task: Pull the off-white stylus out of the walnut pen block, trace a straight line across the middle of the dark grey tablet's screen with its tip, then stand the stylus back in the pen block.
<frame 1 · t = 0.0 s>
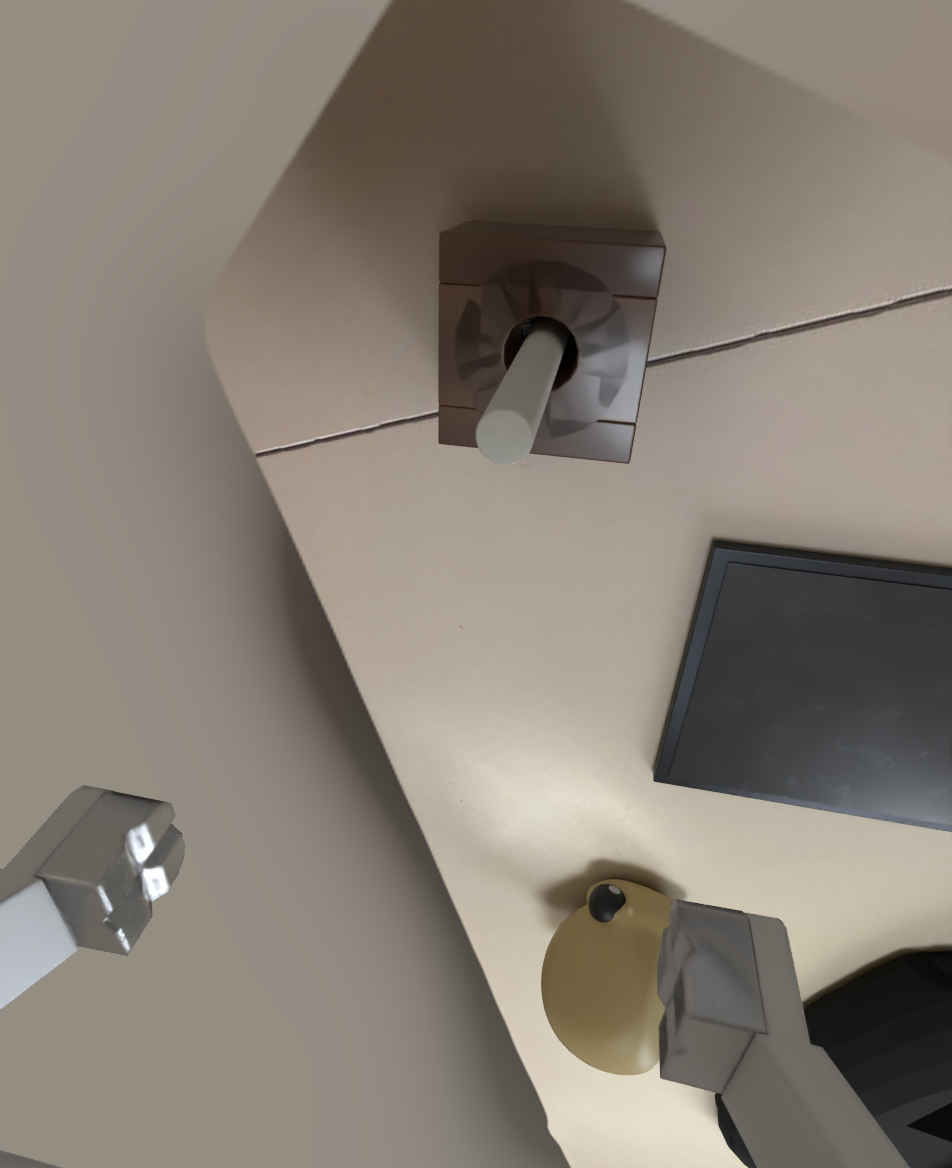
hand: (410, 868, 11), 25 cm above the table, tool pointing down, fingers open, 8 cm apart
tablet: (904, 702, 37), on the table
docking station: (900, 1080, 57), on the table
toy pig: (616, 909, 52), on the table
stylus: (534, 369, 24), in the hole of the pen block
pen block: (552, 327, 30), on the table
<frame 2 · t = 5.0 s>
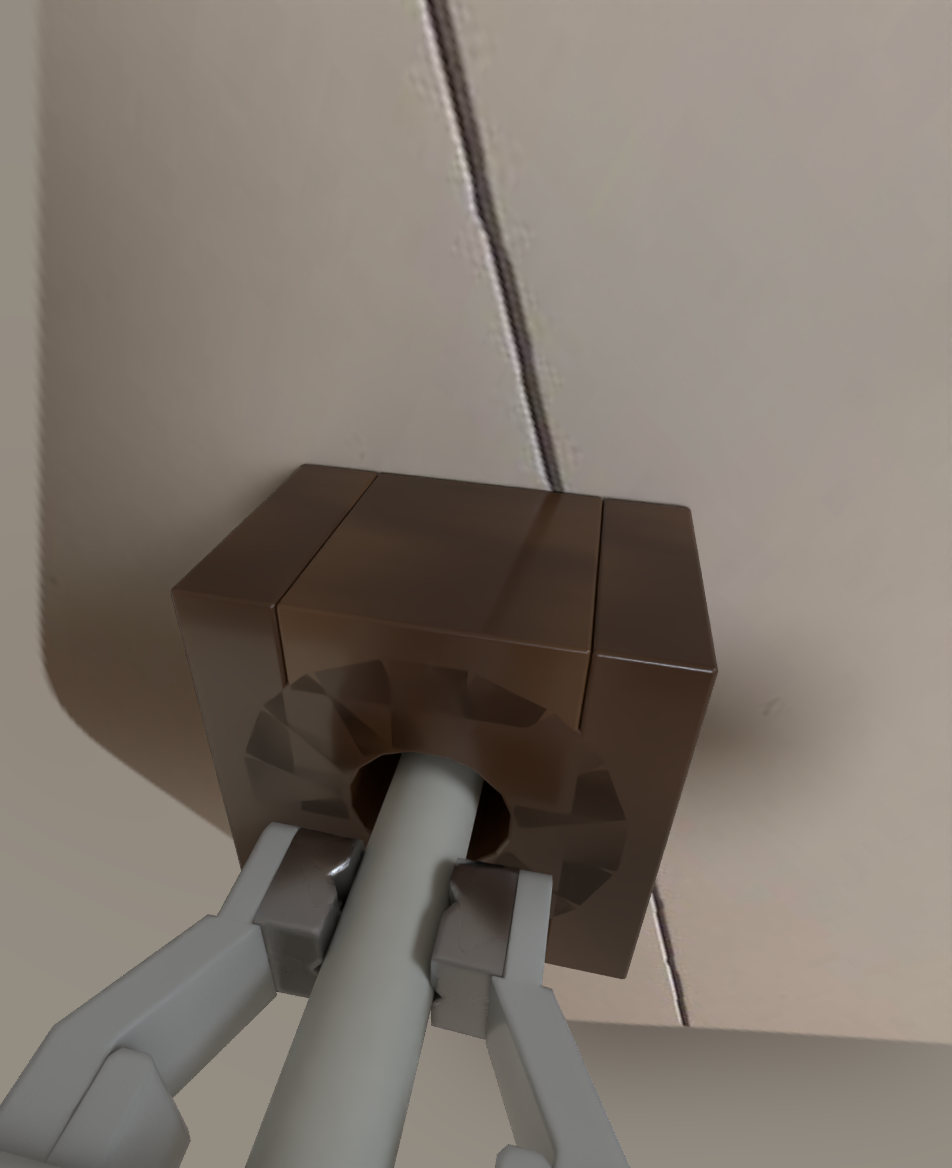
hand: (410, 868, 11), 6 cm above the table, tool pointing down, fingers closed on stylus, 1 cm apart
stylus: (395, 922, 10), in the hole of the pen block, touching gripper
pen block: (481, 640, 16), on the table
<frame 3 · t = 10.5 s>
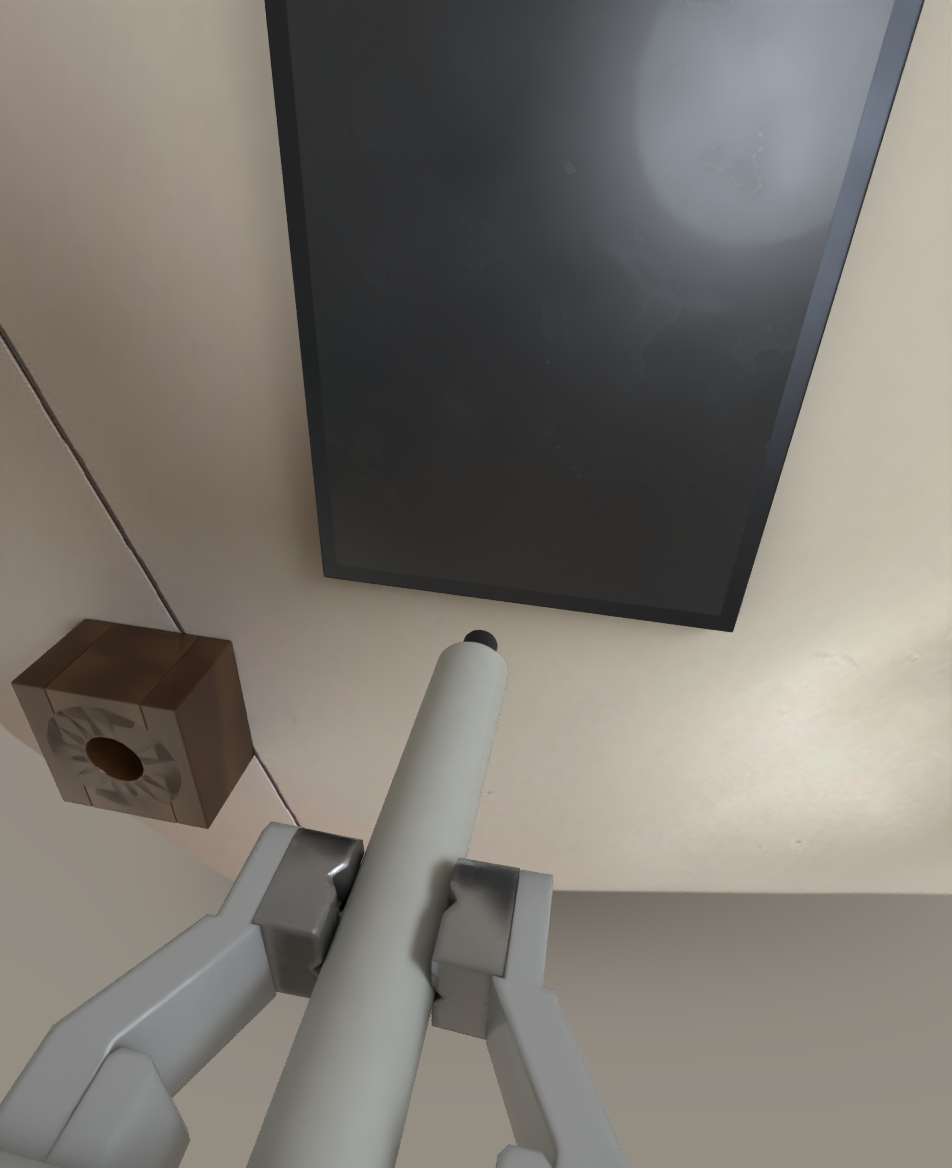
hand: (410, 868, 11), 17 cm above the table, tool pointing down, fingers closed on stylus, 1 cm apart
tablet: (549, 286, 22), on the table
stylus: (395, 925, 10), point 18 cm above the table, touching gripper
pen block: (173, 689, 36), on the table
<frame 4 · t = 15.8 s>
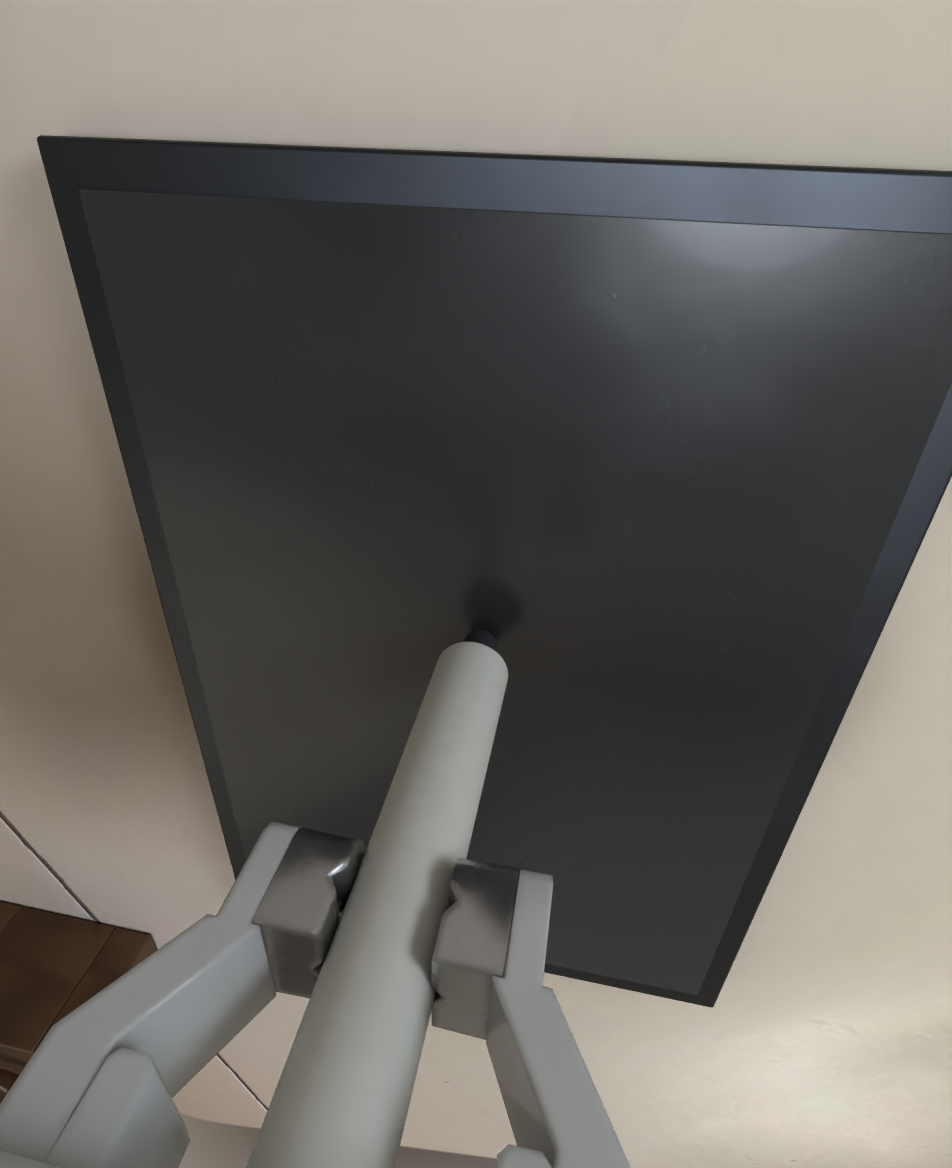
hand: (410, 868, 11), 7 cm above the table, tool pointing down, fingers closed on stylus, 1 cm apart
tablet: (483, 685, 18), on the table
stylus: (395, 924, 10), point 8 cm above the table, touching gripper
pen block: (93, 964, 32), on the table
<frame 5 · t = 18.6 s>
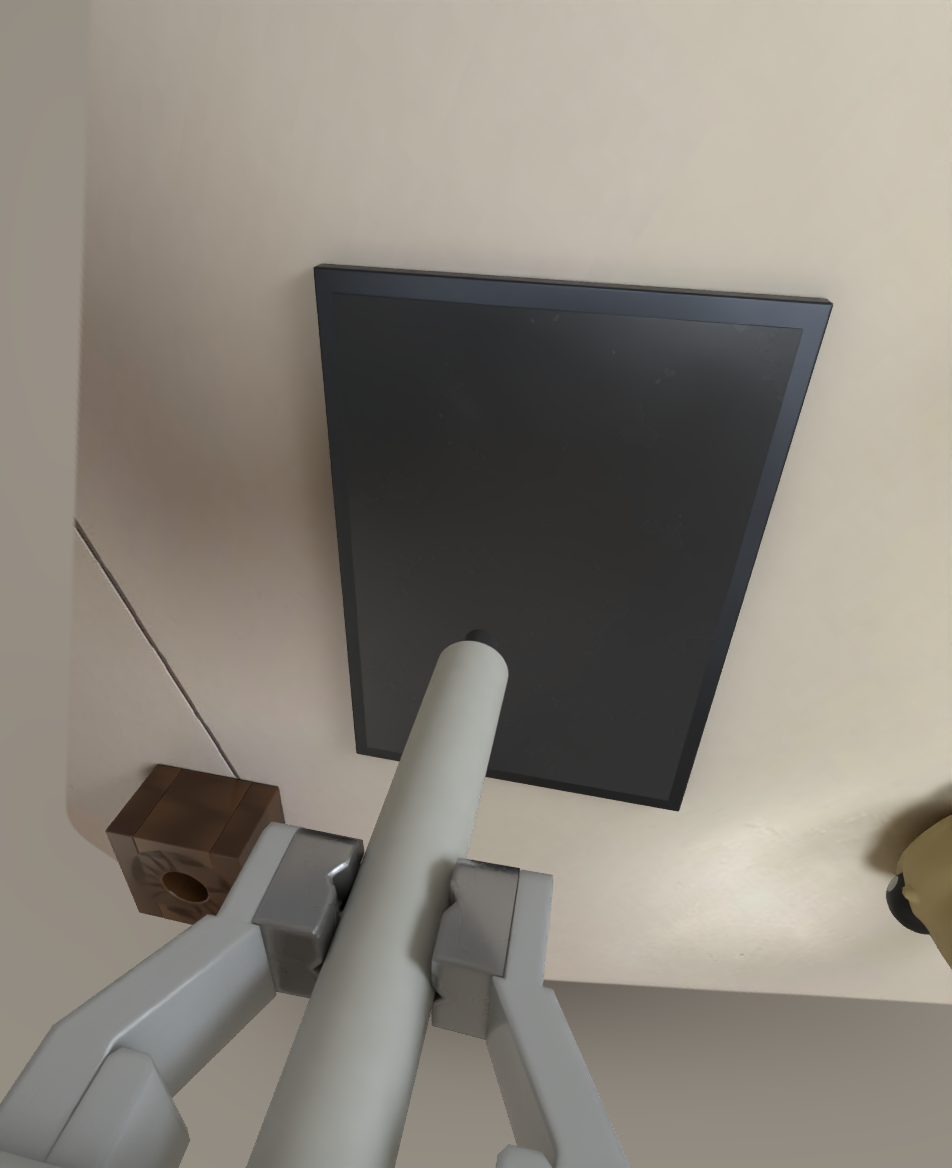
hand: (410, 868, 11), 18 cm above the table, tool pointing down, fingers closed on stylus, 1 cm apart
tablet: (532, 580, 29), on the table
stylus: (395, 923, 10), point 19 cm above the table, touching gripper
pen block: (227, 817, 43), on the table
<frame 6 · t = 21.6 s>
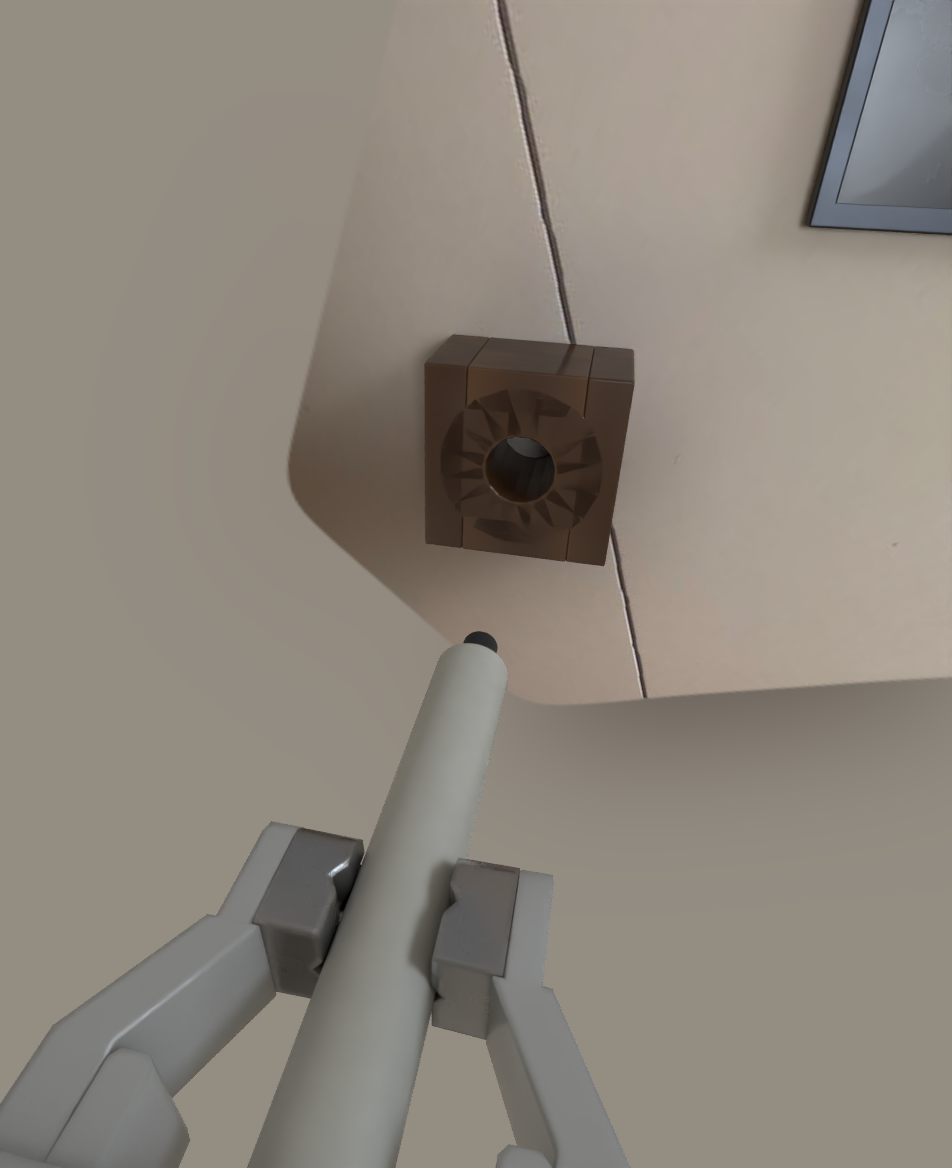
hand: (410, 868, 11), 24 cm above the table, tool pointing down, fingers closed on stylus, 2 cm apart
stylus: (395, 927, 10), point 25 cm above the table, touching gripper
pen block: (534, 429, 32), on the table
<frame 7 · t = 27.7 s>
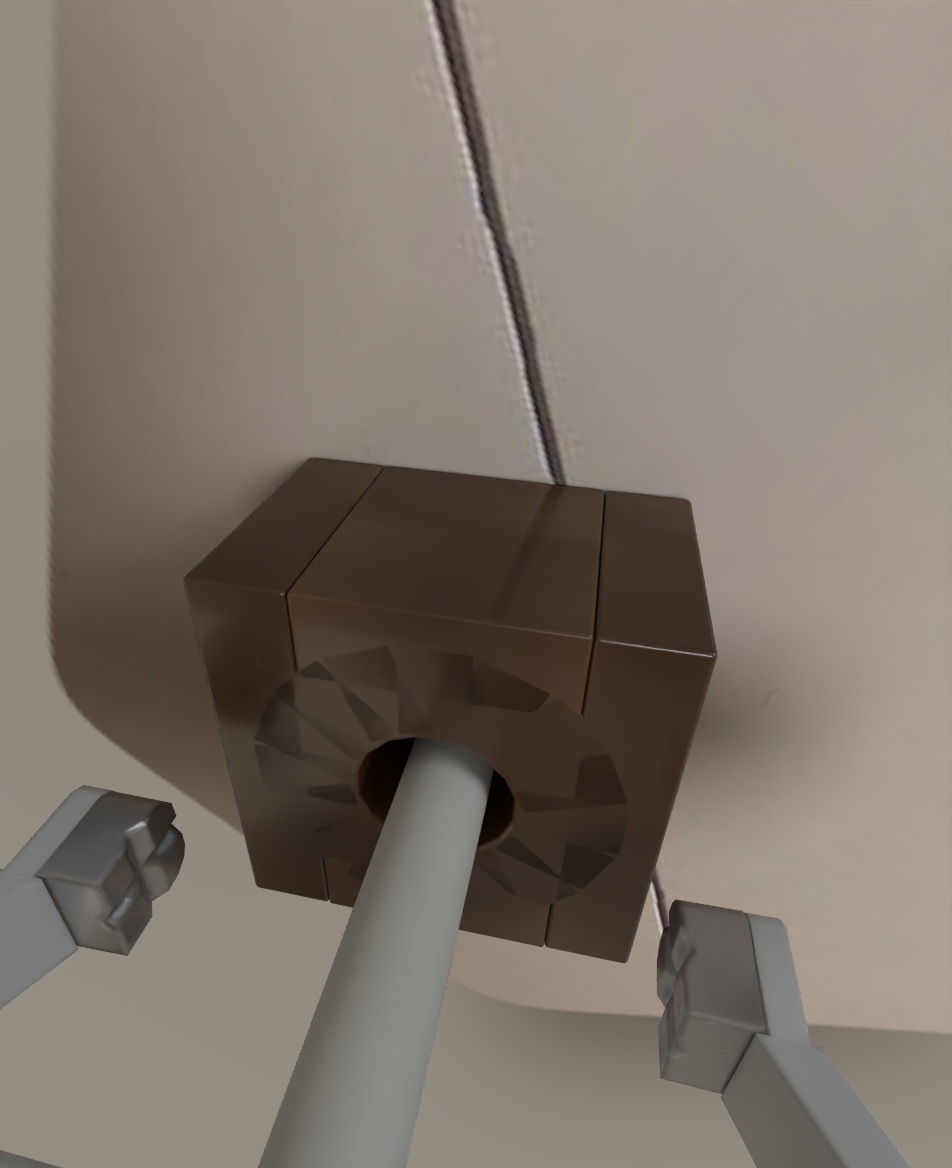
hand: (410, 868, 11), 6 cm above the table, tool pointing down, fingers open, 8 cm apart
stylus: (409, 906, 10), in the hole of the pen block
pen block: (484, 632, 16), on the table
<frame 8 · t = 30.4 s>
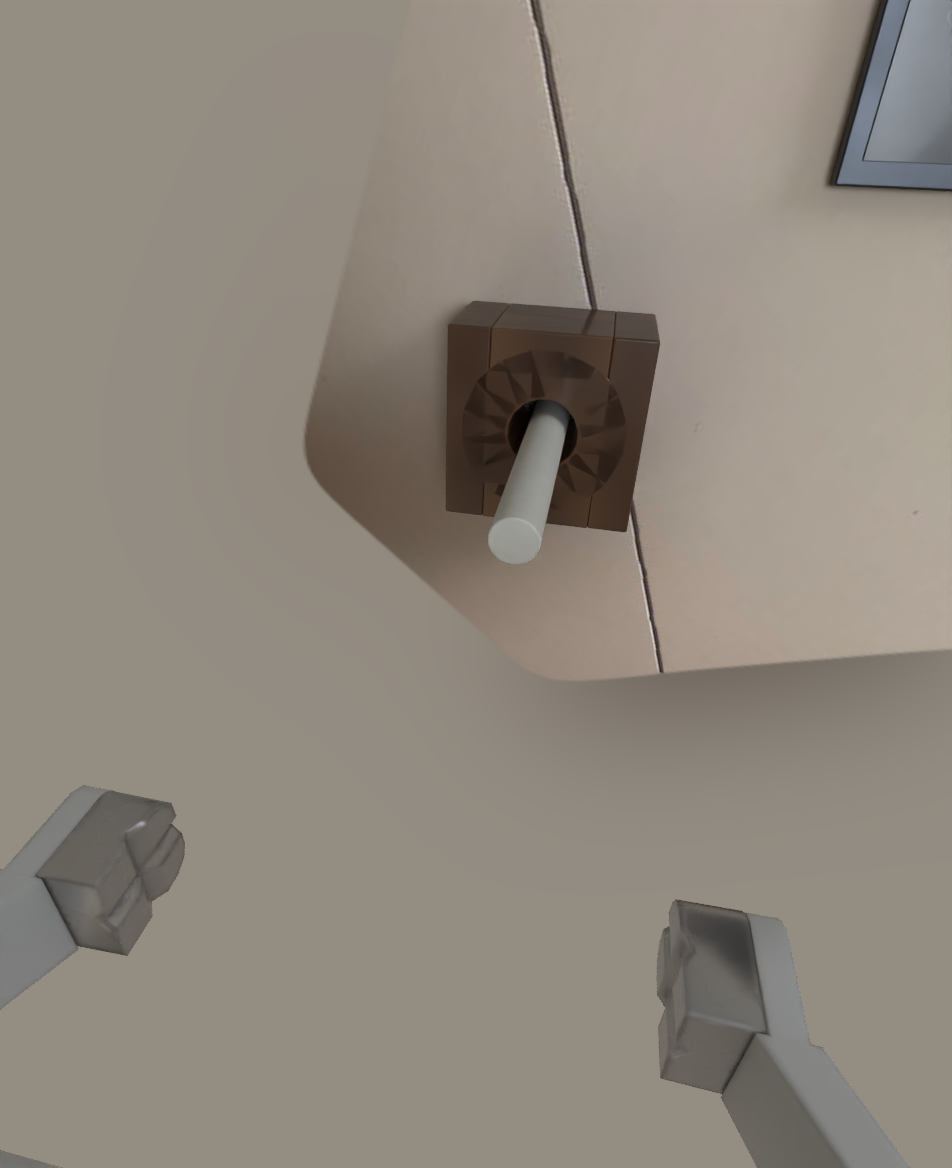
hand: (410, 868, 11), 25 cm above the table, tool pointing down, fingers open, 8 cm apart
stylus: (539, 454, 26), in the hole of the pen block
pen block: (553, 397, 32), on the table
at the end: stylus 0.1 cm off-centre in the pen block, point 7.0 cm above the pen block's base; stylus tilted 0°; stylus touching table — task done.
